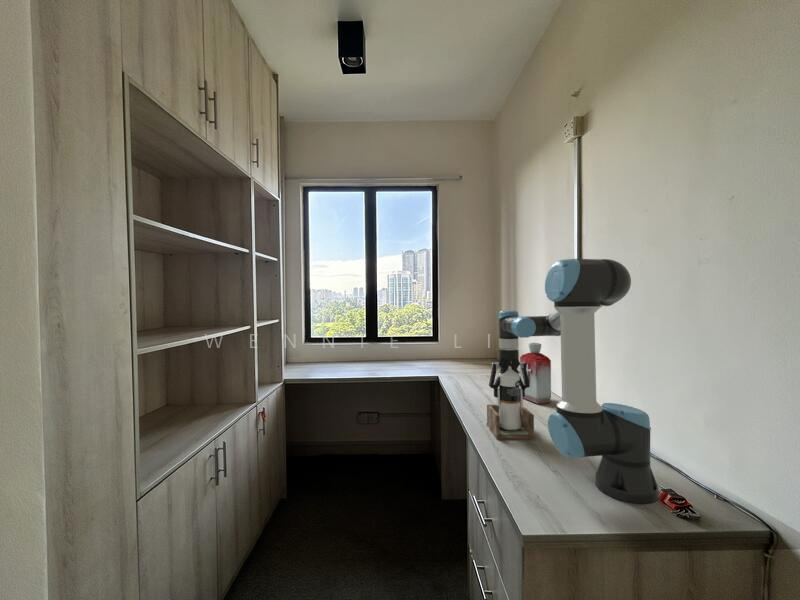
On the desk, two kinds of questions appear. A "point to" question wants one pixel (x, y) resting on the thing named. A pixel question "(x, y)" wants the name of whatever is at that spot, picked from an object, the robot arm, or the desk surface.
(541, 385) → the bottle
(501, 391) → the vodka
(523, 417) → the wooden box
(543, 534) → the desk surface
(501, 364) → the robot arm
